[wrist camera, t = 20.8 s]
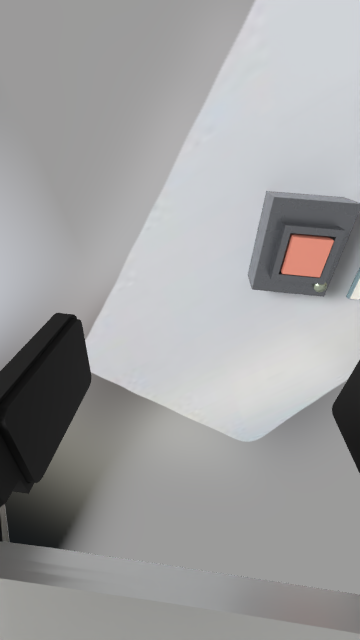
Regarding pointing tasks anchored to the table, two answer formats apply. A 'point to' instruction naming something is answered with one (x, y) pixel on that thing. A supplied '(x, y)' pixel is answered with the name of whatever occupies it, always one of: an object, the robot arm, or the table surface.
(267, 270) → the breaker box
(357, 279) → the mat
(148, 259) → the table surface
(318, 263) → the button
